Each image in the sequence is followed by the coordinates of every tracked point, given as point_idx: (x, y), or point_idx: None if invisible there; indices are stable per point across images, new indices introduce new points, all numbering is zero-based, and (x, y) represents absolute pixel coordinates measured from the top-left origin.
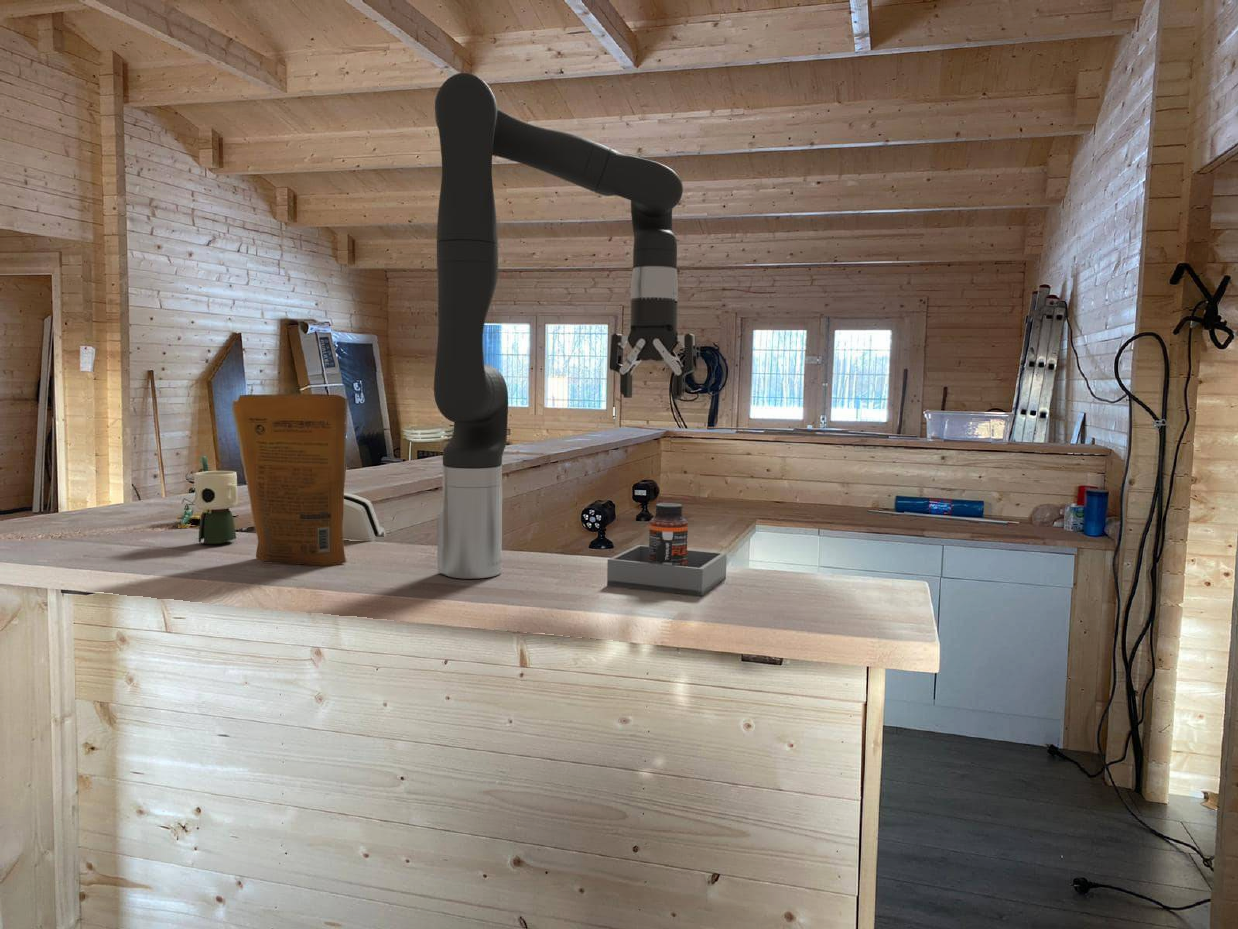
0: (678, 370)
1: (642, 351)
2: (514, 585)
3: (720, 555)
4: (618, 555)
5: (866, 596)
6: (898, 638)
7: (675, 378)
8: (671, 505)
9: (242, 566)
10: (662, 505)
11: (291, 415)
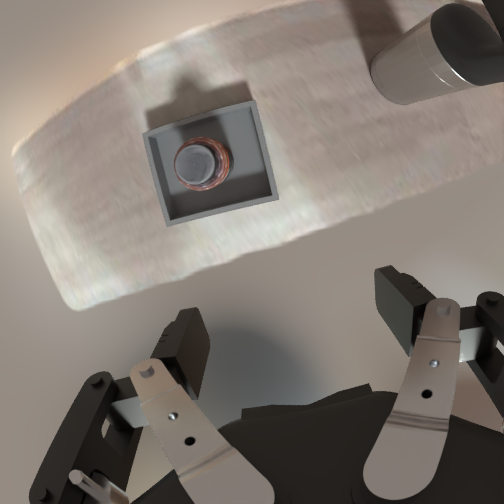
0: (139, 370)
1: (381, 427)
2: (331, 55)
3: (165, 210)
4: (258, 126)
5: (65, 241)
6: (20, 150)
7: (168, 351)
8: (184, 156)
9: None
10: (195, 146)
11: None
